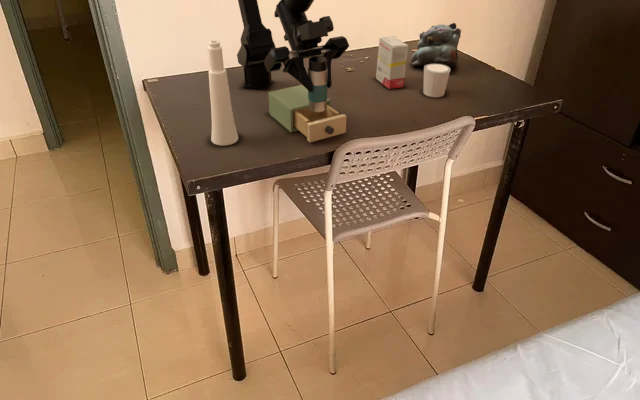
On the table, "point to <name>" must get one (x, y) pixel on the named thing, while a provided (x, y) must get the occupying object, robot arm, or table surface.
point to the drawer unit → (288, 104)
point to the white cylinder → (435, 79)
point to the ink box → (391, 62)
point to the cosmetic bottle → (220, 99)
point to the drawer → (319, 123)
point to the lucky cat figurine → (438, 46)
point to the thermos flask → (318, 84)
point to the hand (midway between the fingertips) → (320, 89)
